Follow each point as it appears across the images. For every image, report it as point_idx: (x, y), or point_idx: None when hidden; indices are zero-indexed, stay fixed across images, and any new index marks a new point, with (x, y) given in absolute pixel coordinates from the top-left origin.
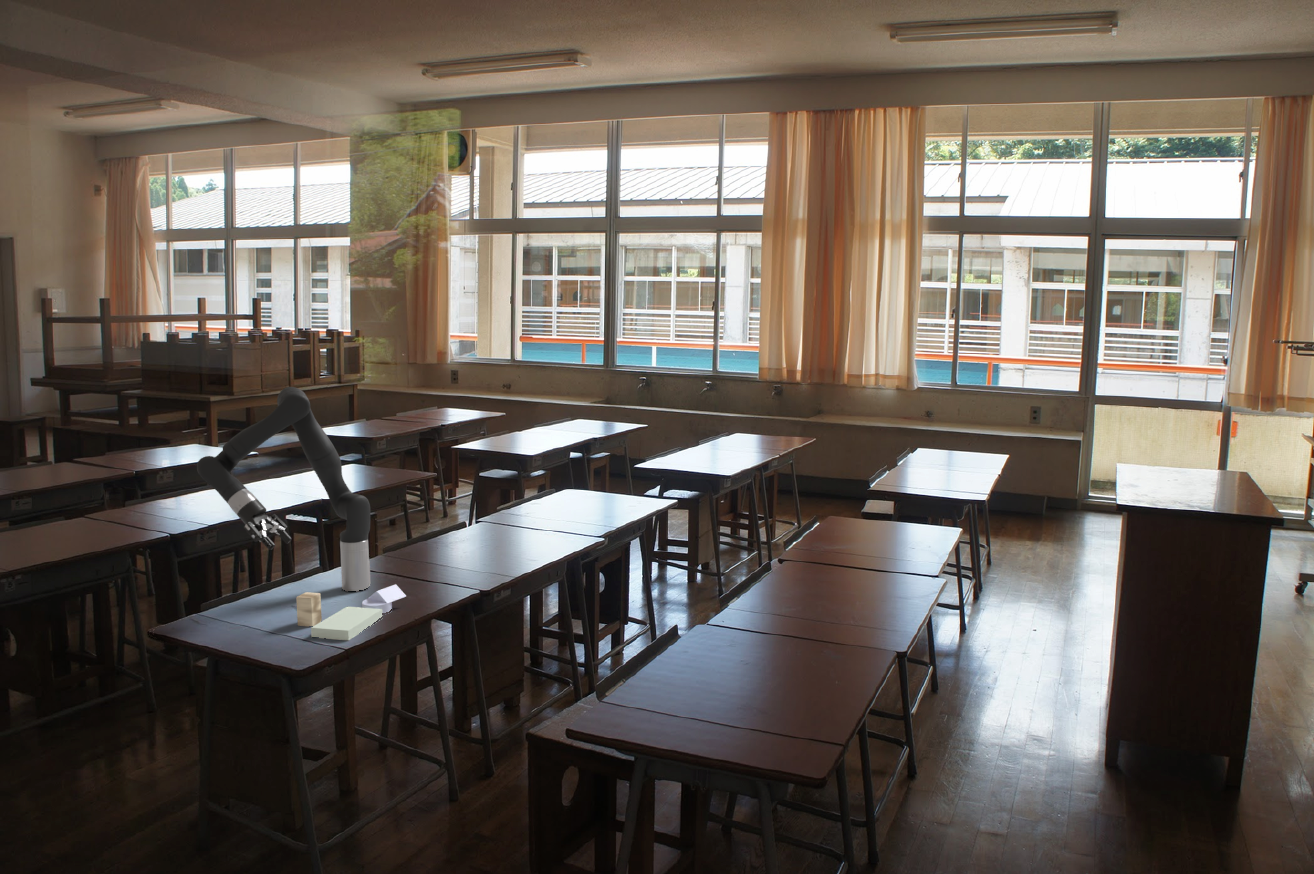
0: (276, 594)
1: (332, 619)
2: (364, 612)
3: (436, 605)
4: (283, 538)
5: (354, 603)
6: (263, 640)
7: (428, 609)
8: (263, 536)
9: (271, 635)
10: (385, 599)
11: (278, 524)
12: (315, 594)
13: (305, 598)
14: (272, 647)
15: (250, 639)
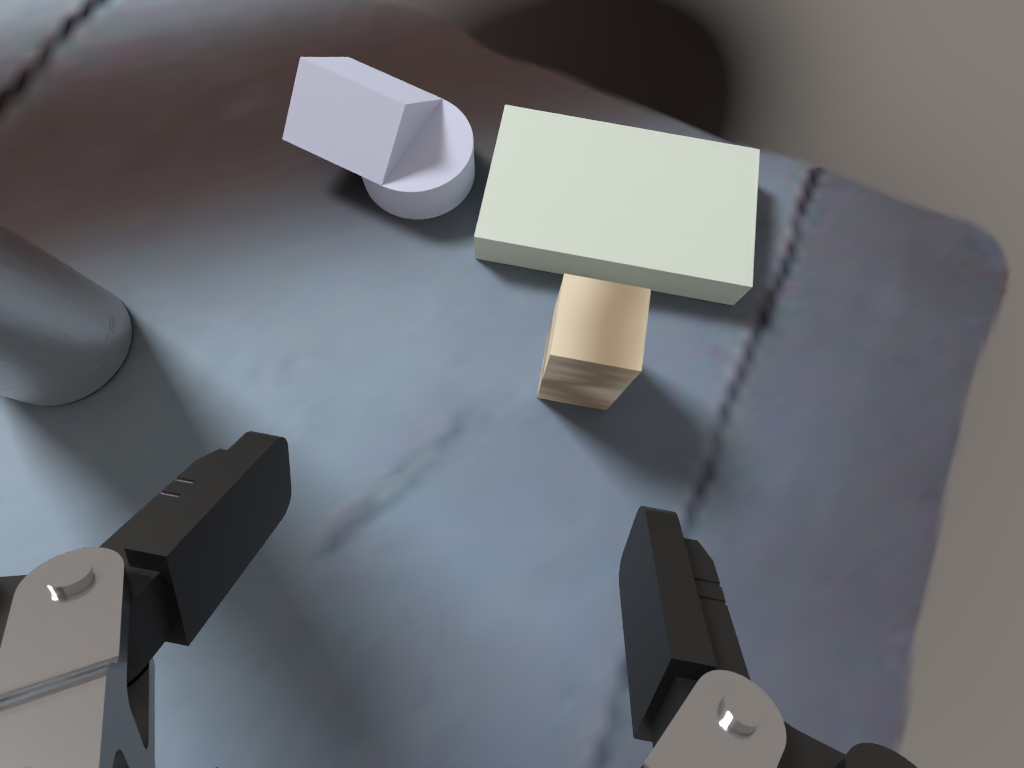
0: None
1: (646, 240)
2: (549, 153)
3: (357, 8)
4: (243, 549)
5: (310, 281)
6: (796, 477)
7: (402, 23)
8: (773, 717)
9: (736, 470)
10: (428, 97)
11: (19, 697)
12: (587, 290)
13: (646, 321)
14: (859, 407)
15: (796, 540)
